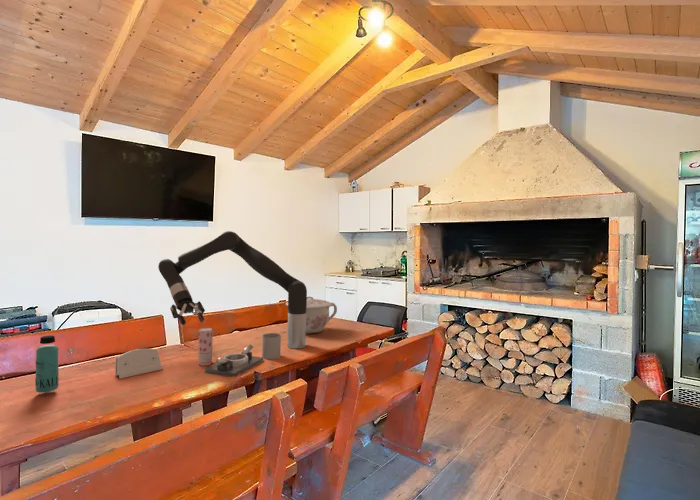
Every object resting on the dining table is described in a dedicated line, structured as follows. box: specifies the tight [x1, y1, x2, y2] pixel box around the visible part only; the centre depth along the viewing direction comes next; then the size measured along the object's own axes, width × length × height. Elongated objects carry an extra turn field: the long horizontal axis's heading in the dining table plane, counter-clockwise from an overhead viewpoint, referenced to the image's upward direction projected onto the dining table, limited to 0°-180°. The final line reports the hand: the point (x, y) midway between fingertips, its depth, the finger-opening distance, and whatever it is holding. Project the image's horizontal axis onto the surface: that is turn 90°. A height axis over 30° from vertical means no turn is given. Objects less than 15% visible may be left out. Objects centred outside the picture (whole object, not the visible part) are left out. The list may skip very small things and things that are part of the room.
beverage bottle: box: [34, 335, 60, 394], centre depth 136 cm, size 6×7×20 cm
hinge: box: [114, 348, 163, 379], centre depth 161 cm, size 17×5×10 cm, turn 137°
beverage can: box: [197, 327, 213, 366], centre depth 172 cm, size 6×6×15 cm
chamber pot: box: [285, 296, 338, 335], centre depth 235 cm, size 28×28×21 cm
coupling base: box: [204, 343, 264, 377], centre depth 169 cm, size 24×14×7 cm, turn 161°
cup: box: [261, 332, 282, 360], centre depth 184 cm, size 8×8×10 cm
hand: (193, 322), depth 178 cm, fingers open, 8 cm apart
